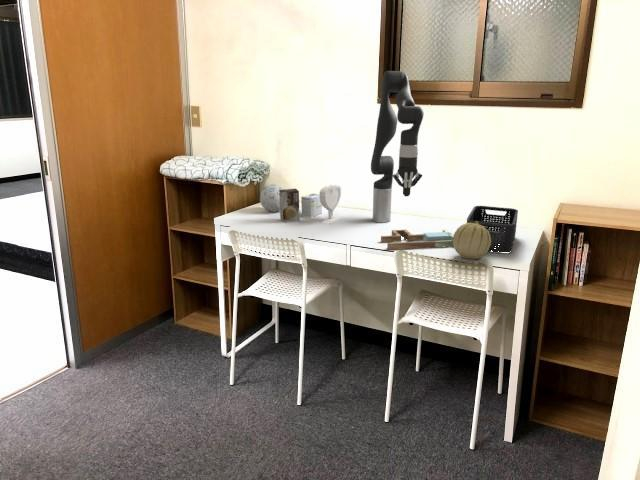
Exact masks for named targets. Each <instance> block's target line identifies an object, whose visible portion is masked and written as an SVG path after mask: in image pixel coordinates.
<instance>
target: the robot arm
mask: <svg viewBox="0 0 640 480" xmlns="http://www.w3.org/2000/svg"><path fill="white" fill-rule="evenodd" d="M380 93H381V94H380V106H379V112H378V118H377V124H376V134H375V140H374V147H373V152H372V155H371V156H372V157H371V162H370V171H371V173H372V175H376V176H378V175H379V176H380V175H381V176H382V175H383V176H382V177H381V178H379V179H377V180H375V181H374V182H373V191H372V192H373V197H372V221H373V222H376V223H388V222H391V220H392V219H391V213H392V192H393V191H392V189H393V188H392V187H393V179H394V180H395V181H396V183H397V184H398V185H399V186H400V187H401V188H402V194H403V196H404V197H410V196H411V188H412V187H415V186H416V185H417V183H418V182H419V181H420V180H421V178H422V177H423V174H422V173H419V170H418V168H417V167H418V155H419V154H418V153H419V152H418V141H419V140H418V139H419V132H420V128H421V125H422V121H423V120H424V116H425V115H424V114H425V113H424V112H425V111H424V110H423V108H422V107H421V106H420V105H418V106H417V105H416V103H415V101H414V98H413V97H412V94H411V87H410V82H409V77H408V75H407V72H405V71H401V70H386V71H384V74H383V76H382V83H381V92H380ZM390 93H397V94H396V97H395V103H396V107H397V114H396V112H395V110H394V109H393V106H392V104H391V101H390V97H389V96H390ZM398 123H400V124H402V125H411V124H412V126H411V127H410V128H407V129H404V130H401V132H400V144H399V154H398V157H399V158H398V168H397V172H395V174H394V169H395V168H394V167H395V166H394V164H395V162H394V159H393V156H392V155H383V152H384V151H385V149H386V147H387V146H388V144H389V143H390V142H391V141H392V140H393V138H394V137H395V135H396V133H397V127H398ZM400 178H401V180H400Z"/></svg>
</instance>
